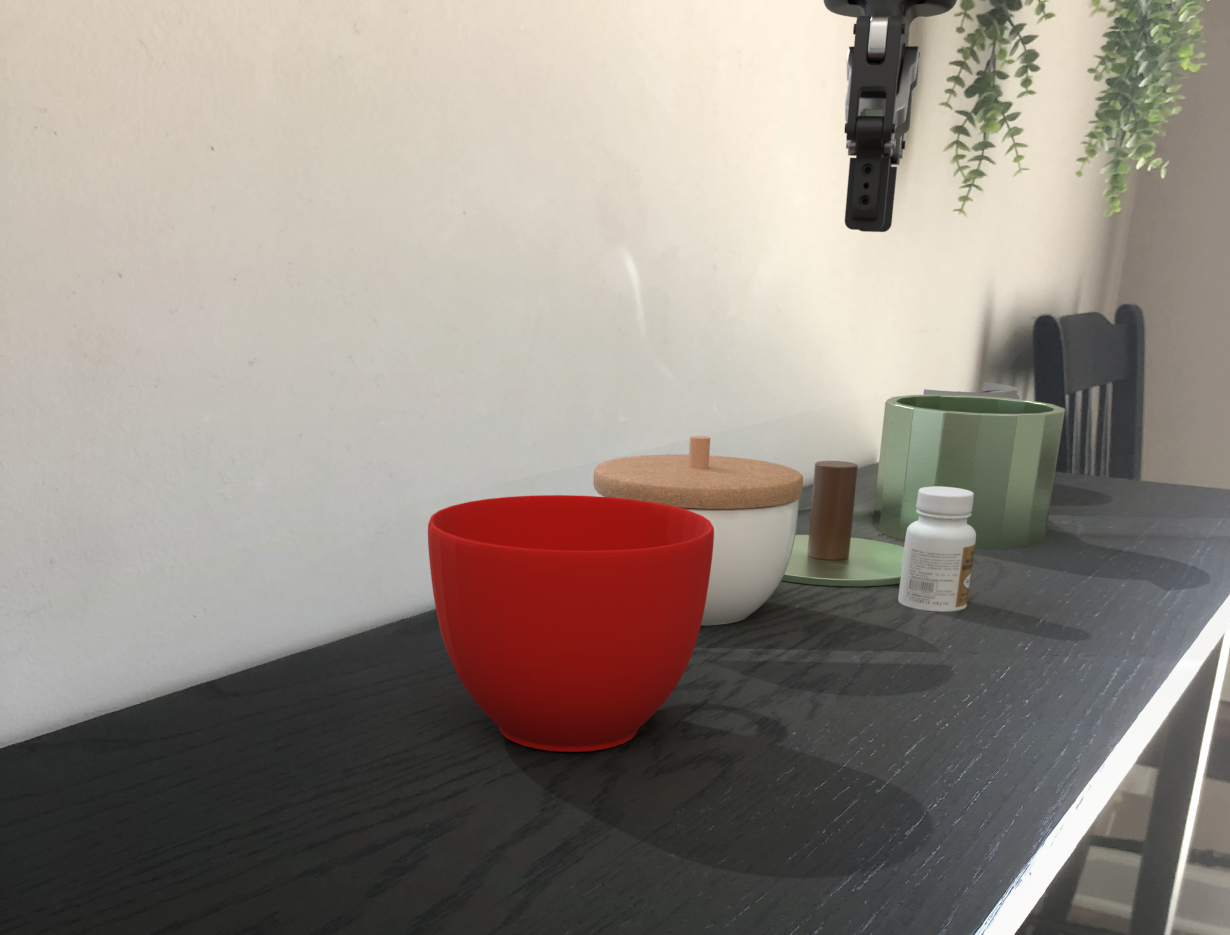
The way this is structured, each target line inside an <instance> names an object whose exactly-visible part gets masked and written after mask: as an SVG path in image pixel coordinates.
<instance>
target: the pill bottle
mask: <svg viewBox="0 0 1230 935" xmlns="http://www.w3.org/2000/svg"><path fill="white" fill-rule="evenodd" d="M973 498H974V493H973V492H971V491H969V490H965V489H960V488H953V487H940V486H939V487H938V486H935V487H923V488H920V489H919V491H918V498H917V504H916V507H917V508H918V509H917V510H916V512H917V513H918V514H919V520H918V521H915V522H913V523H911V524H910V525H909V526H908V528H907V531H906V537H905V540H904V546H903V547H904V554H903V562H902V571H901V579H900V584H899V589H898V598H897V602H898V603H899V604H900V605H903V606H905V607H908V608H911V609H915V610H921V611H929V612H957V611H961V610H964V609H966V608H967V606H968V600H969V591H970V584H971V576H972V570H973V562H974V555H975V549H976V548H975V542H976V532H975V530H974V529H973V528H972V527H971V526H970V525H968V524H967V518H968V517H970V516H971V513H970V512H971V511H972V506H973Z"/></svg>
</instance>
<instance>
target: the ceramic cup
mask: <svg viewBox="0 0 1230 935" xmlns="http://www.w3.org/2000/svg"><path fill="white" fill-rule="evenodd" d="M713 544H714V527H713V526H712V524H711V522H710V521H709V520H708V519H706V518H705V517H703V516H702V515H699V514H697V513H694V512H692V511H689V510H685V509H682V508H678V507H674V506H670V505H664V504H659V503H654V502H647V501H640V500H633V499H623V498H612V497H598V496H596V495H575V494H574V495H572V494H571V495H570V494H564V495H563V494H546V495H544V494H541V495H540V494H539V495H537V494H535V495H518V496H517V495H516V496H502V497H493V498H484V499H479V500H472V501H467V502H462V503H458V504H454V505H450V506H446V507H445V508H442V509H439V510H438V511H436V512H435V513H433V514H432V515H431V516H430V518H429V521H428V524H427V546H428V547H427V548H428V558H429V559H428V560H429V570H430V578H431V585H432V586H431V587H432V594H433V601H434V607H435V612H436V617H437V622H438V626H439V629H440V634H441V638H442V641H443V643H444V644H443V645H444V646H445V649H446V653H447V655H448V657H449V659H450V662H451V664H452V666H453V669H454V671H455V672H456V675H457V677H458V679H459V680H460V682H461V684H462V685H463V687H464V688H465V691H467V693H468V695H469V696H470V697H471V699H472V700H473V701H474V702H475V704H476V705H477V706H478V707H479V708H480V710H481V711H482V712H483V713H484V714H485V715H486V716H487V717H488V718H489V719H490V720H491V721H492V722H493V723H494V724H495V725H496V726H497V727H498V729H499V731H500V733H501V734H502V736H504V737H505V738H506V739H508V740H510V741H512V742H513V743H516V744H518V745H521V746H523V747H527V748H532V749H536V750H540V751H548V752H560V753H578V752H579V753H582V752H583V753H584V752H593V751H600V750H605V749H610V748H614V747H618V746H619V745H623V744H625V743H627V742H629V741H630V740H632V739H633V738H634V737H635V736H636V735H637V732H638V730H639V729H640V728H641V727H642V726H643V725H644V724H646V722H648V720H650V718H652V716H654V715H655V713H657V711H659V709H660V708H661V707H662V706H663V705H664V703H665V702H666V701H667V700H668V699H669V697H670V696H671V695H672V693H673V692H674V690H675V689H676V687H677V686H678V684H679V683H680V681H681V679H682V677H683V675H684V673H685V672H686V670H687V667H688V665H689V662H690V660H691V658H692V655H693V652H694V650H695V646H696V644H697V640H698V637H699V634H700V630H701V626H702V625H701V622H702V618H703V614H704V609H705V603H706V598H707V592H708V585H709V578H710V571H711V563H712V554H713Z"/></svg>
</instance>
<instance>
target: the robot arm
mask: <svg viewBox="0 0 1230 935" xmlns="http://www.w3.org/2000/svg"><path fill="white" fill-rule="evenodd" d="M957 1H958V0H823V4H824V7H825V8H826V9H827V10H828V11H829V12H831V13H832V14H833V13H834V15H837V16H838V15H839V16H843V17H850V18H856V22H855V23H853V28H852V30H853V31H852V34H853V35H854V41H853V42H854V43H853V46H848V49H847V55H846V56H847V57H846V81H847V86H846V94H845V101H844V120H845V123H844V134H846V138H845V139H846V142H845V149H846V150H847V156H849V165H848V175H847V176H848V177H847V187H846V201H845V213H844V225H845V226H846V228H847V229H848V230H853V231H860V232H865V233H866V232H869V233H870V232H871V233H885V232H888V231H889V230H890V229H891V227H892V224H893V223H892V222H893V214H894V203H895V195H896V194H895V192H896V183H897V174H898V172H897V170H898V166H900V162H901V159H902V160H903V156H904V150H906V140H905V134H906V133H907V132H909V131H910V127H911V121H912V115H913V101H914V91H915V90H914V89H916V87H917V85H918V80H919V73H920V67H921V66H920V64H921V51H920V46H918V45H909V39H910V26H911V24H912V23H913V21H914V20H915V19H916V18H920V17H921V18H922V17H923V18H928V17H929V18H930V17H934V16H940V15H943V14H945V13H948V12H950V11H951V10H953V8H954V7H955V5H956V4H957ZM850 156H852V157H850Z"/></svg>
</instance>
